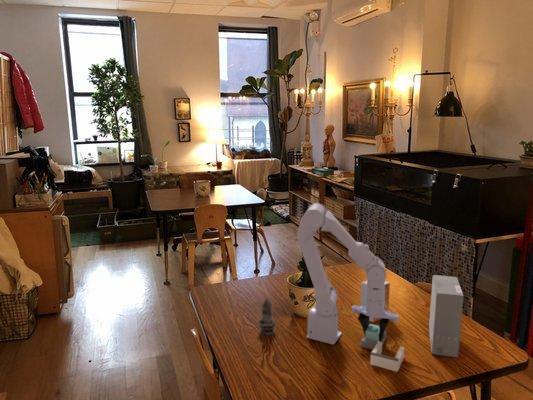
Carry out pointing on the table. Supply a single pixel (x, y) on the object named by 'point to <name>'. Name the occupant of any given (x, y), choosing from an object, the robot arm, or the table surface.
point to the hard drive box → (445, 315)
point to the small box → (386, 301)
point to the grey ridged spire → (267, 319)
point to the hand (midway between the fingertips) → (373, 337)
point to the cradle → (371, 342)
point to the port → (386, 358)
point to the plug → (372, 333)
